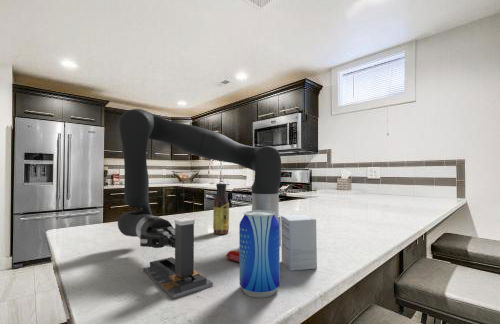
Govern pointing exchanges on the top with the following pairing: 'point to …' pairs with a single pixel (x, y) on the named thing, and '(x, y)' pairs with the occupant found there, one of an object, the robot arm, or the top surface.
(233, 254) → the candy bar
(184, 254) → the fader knob
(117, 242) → the top surface
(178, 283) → the fader track
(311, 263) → the supplement box
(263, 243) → the beer can
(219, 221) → the sauce bottle
